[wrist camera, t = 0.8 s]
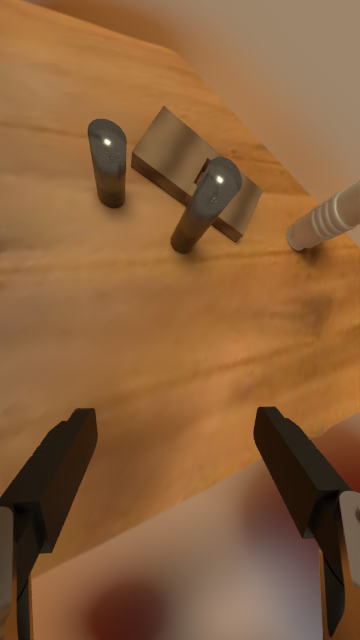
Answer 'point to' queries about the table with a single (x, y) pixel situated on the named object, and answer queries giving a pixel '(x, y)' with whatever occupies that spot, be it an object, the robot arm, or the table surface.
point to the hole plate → (189, 169)
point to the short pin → (108, 161)
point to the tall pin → (207, 202)
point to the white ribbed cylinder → (327, 219)
